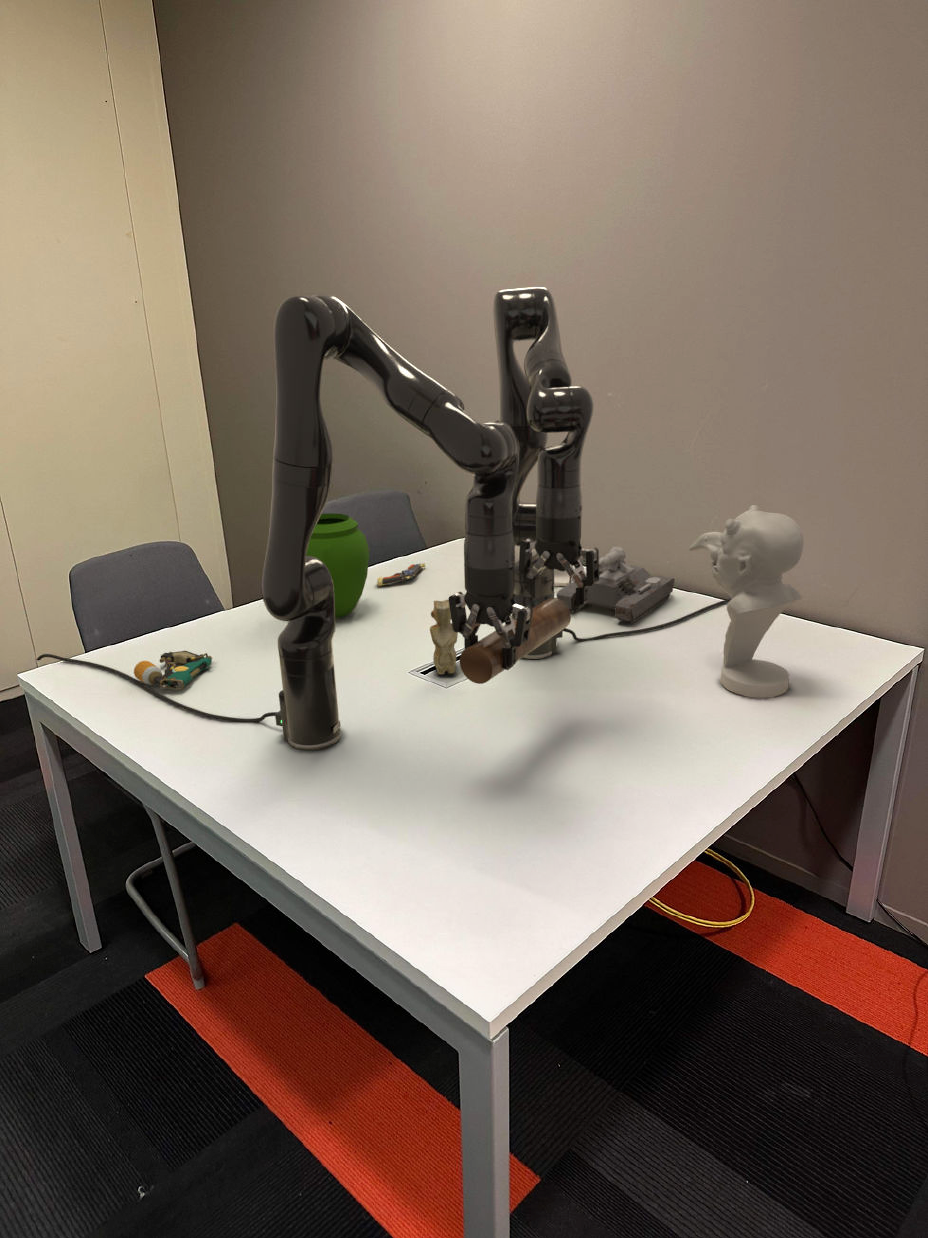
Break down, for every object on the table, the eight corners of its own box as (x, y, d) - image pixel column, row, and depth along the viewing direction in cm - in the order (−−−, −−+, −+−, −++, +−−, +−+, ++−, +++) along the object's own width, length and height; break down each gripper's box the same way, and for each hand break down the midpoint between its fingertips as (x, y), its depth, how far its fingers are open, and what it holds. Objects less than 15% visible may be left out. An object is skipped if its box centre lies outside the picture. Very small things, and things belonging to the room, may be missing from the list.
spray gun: (177, 659, 191) (231, 671, 185) (120, 684, 176) (176, 698, 171) (176, 641, 190) (230, 653, 184) (118, 665, 175) (174, 678, 169)
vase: (389, 608, 216) (383, 514, 208) (339, 633, 201) (330, 533, 192) (330, 596, 226) (322, 506, 218) (278, 619, 211) (267, 523, 202)
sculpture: (458, 662, 183) (456, 596, 178) (460, 676, 176) (457, 608, 171) (431, 663, 183) (428, 597, 177) (431, 677, 176) (428, 609, 171)
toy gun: (374, 578, 232) (409, 575, 230) (392, 563, 250) (425, 560, 247) (376, 588, 232) (411, 585, 230) (394, 572, 250) (427, 569, 248)
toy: (603, 584, 229) (605, 530, 224) (673, 597, 218) (677, 540, 213) (555, 612, 210) (556, 553, 205) (630, 627, 199) (633, 566, 194)
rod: (540, 626, 151) (541, 594, 149) (570, 632, 148) (571, 600, 146) (459, 679, 132) (458, 643, 129) (492, 687, 128) (492, 651, 126)
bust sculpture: (721, 647, 187) (735, 489, 174) (811, 688, 167) (833, 512, 154) (664, 663, 180) (674, 499, 167) (750, 707, 160) (769, 525, 147)
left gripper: (435, 559, 127) (438, 662, 133) (518, 574, 120) (518, 682, 126) (463, 547, 133) (465, 646, 139) (544, 560, 126) (542, 665, 132)
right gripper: (510, 511, 142) (511, 602, 148) (587, 521, 135) (585, 616, 141) (532, 501, 148) (532, 589, 154) (607, 510, 141) (605, 602, 147)
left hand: (490, 663), depth 133 cm, fingers closed on rod, 6 cm apart
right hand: (558, 602), depth 148 cm, fingers open, 8 cm apart
